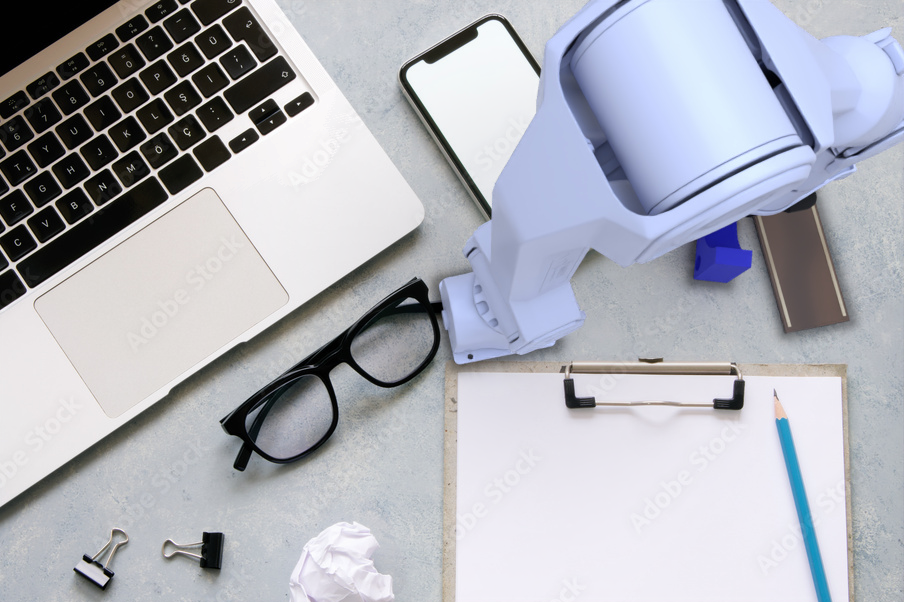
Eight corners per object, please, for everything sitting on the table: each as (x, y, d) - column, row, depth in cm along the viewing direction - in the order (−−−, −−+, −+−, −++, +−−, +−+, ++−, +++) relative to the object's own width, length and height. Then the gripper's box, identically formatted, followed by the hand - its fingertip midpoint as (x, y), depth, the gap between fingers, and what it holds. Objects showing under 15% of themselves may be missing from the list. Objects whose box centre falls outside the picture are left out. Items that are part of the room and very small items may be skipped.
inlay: (785, 333, 69) (787, 332, 69) (745, 190, 71) (747, 189, 71) (848, 320, 69) (850, 320, 69) (806, 178, 72) (809, 177, 71)
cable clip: (688, 156, 72) (708, 129, 66) (736, 161, 72) (761, 134, 66) (677, 277, 70) (697, 261, 64) (726, 283, 70) (751, 267, 64)
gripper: (872, 87, 56) (785, 155, 70) (683, 123, 56) (632, 185, 70) (900, 175, 55) (805, 227, 69) (707, 213, 55) (651, 258, 69)
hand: (719, 211), depth 69 cm, fingers closed on cable clip, 4 cm apart
